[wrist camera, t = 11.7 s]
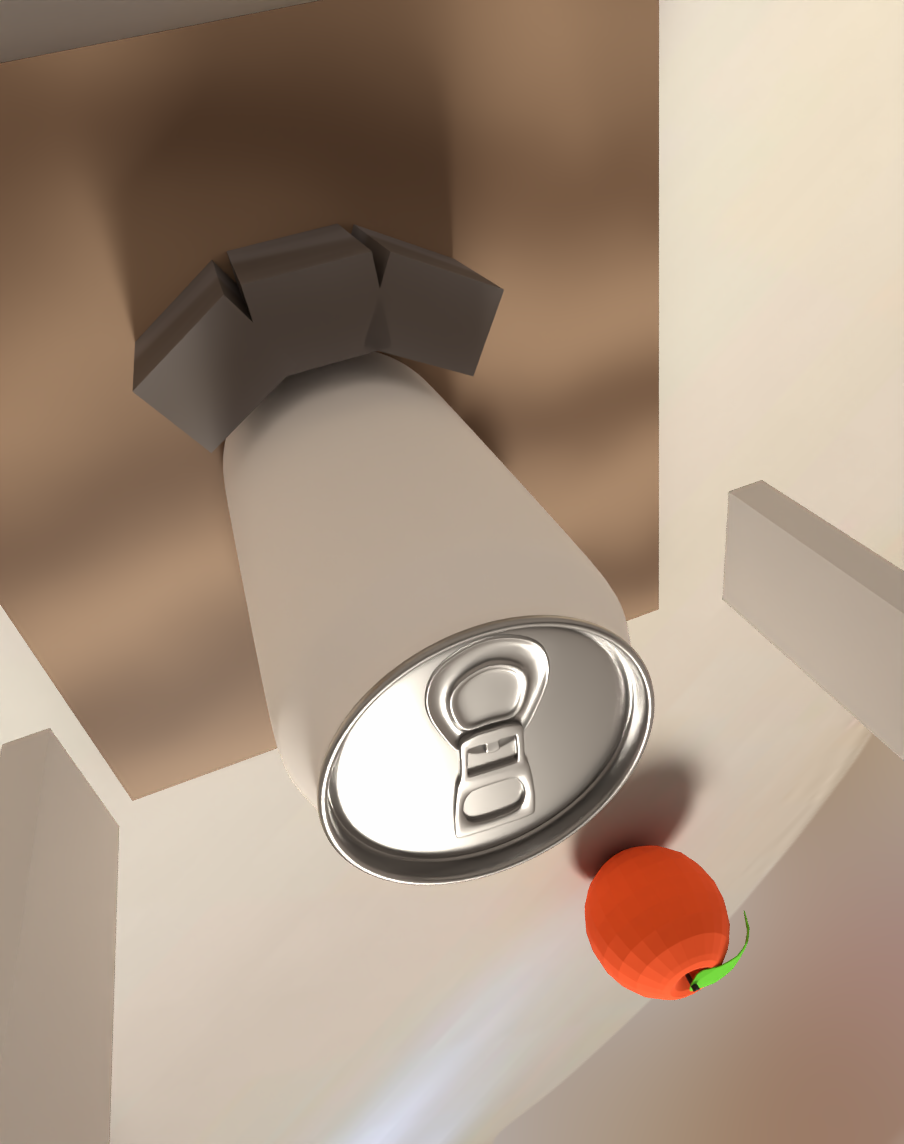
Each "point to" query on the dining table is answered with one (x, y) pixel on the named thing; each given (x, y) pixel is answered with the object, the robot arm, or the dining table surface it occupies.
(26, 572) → the wooden board with blocks
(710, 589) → the dining table surface
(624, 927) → the clementine
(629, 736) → the can
